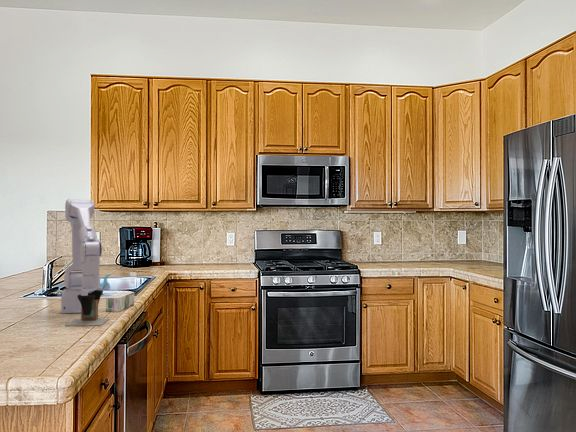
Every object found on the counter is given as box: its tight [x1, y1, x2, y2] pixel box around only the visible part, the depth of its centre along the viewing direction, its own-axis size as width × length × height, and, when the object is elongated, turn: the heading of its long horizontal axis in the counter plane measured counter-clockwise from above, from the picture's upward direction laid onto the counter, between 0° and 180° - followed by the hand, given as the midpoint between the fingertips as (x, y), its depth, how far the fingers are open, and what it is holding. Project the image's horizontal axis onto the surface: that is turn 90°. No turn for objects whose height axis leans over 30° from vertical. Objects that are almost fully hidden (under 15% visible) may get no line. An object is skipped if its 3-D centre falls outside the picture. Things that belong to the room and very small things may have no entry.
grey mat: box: [64, 318, 110, 327], centre depth 167 cm, size 12×10×1 cm
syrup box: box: [105, 291, 135, 313], centre depth 194 cm, size 6×6×14 cm
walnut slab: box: [80, 300, 99, 321], centre depth 170 cm, size 5×2×7 cm, turn 96°
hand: (90, 312), depth 170 cm, fingers open, 7 cm apart
